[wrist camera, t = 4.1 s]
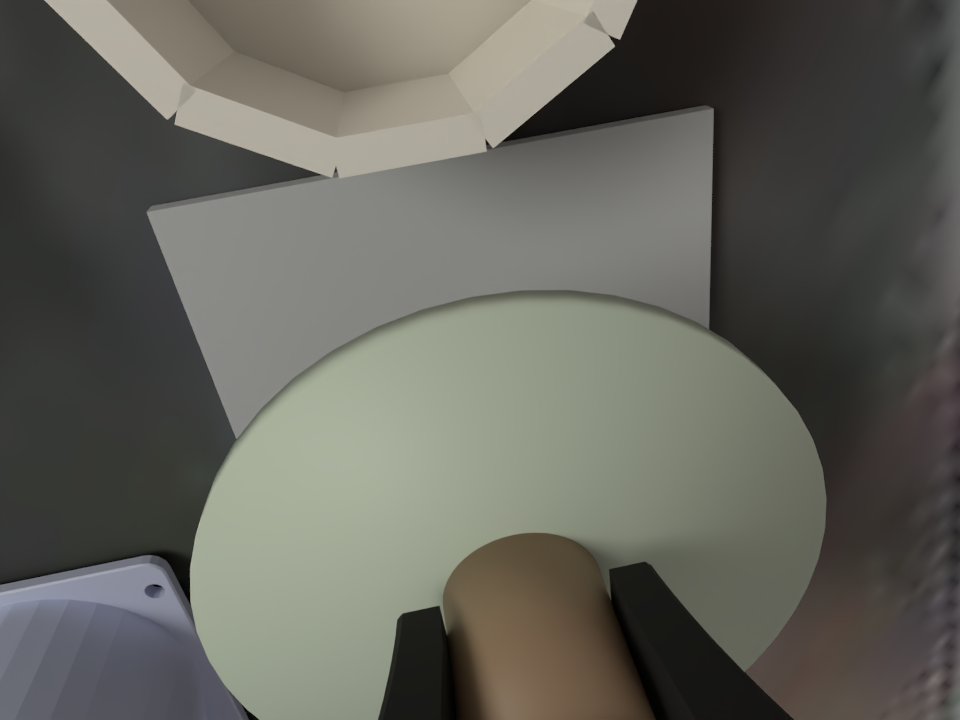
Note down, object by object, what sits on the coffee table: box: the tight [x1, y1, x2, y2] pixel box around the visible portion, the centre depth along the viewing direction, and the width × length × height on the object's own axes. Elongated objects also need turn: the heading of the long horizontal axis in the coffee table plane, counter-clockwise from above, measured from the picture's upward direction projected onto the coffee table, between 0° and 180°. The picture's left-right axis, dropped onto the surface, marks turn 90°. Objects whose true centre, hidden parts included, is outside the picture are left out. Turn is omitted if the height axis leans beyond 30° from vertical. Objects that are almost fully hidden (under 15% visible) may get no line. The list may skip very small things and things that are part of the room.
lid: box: [190, 290, 827, 720], centre depth 11 cm, size 11×11×4 cm
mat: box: [147, 105, 714, 439], centre depth 18 cm, size 12×12×1 cm
